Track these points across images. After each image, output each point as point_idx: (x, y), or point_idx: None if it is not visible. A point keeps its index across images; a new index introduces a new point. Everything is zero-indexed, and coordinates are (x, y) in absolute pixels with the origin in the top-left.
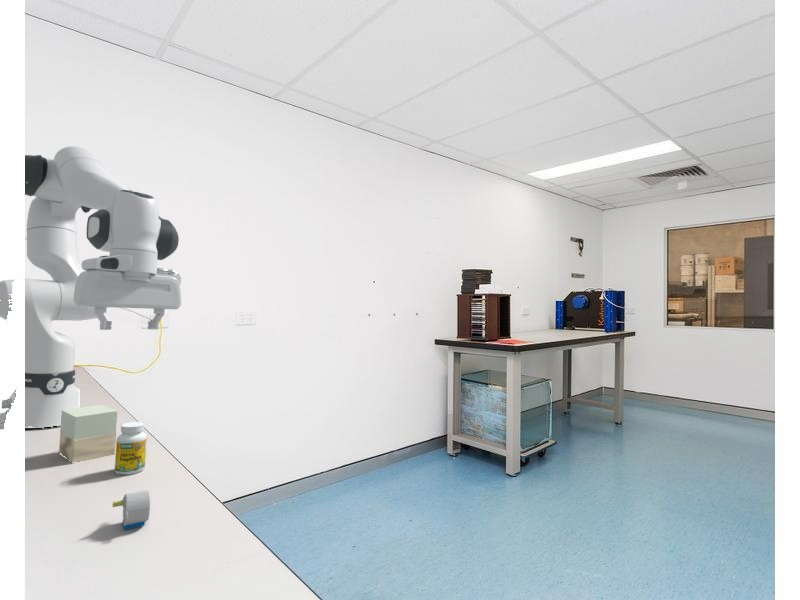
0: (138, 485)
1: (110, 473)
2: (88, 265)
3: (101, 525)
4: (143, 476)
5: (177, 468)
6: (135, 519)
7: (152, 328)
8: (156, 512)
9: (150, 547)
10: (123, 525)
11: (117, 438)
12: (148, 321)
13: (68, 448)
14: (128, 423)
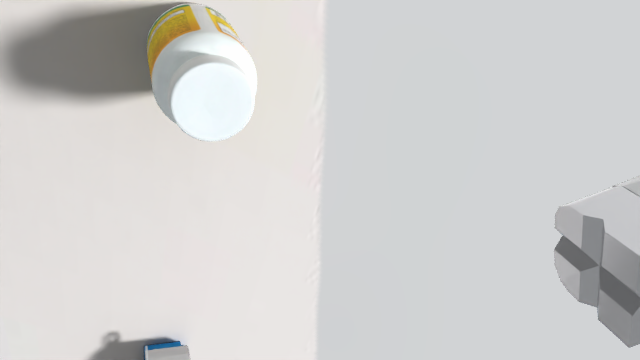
0: (197, 174)
1: (133, 42)
2: None
3: (106, 339)
4: None
5: (316, 96)
6: None
7: (572, 279)
8: (209, 322)
9: None
10: (144, 356)
11: (154, 87)
12: (635, 269)
13: None
14: (200, 80)
